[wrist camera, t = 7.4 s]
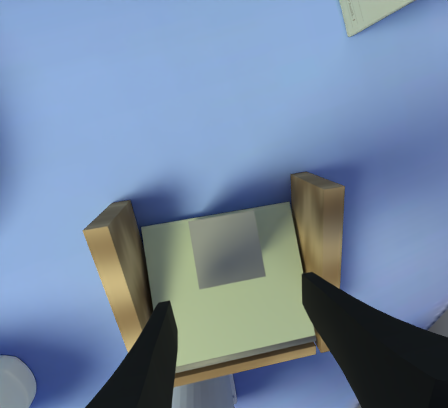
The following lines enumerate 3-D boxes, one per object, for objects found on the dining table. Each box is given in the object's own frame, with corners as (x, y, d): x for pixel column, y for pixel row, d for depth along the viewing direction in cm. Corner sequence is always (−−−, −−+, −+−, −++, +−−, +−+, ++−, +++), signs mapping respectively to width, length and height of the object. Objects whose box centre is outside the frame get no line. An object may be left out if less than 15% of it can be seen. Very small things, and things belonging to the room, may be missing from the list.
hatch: (312, 338, 21) (316, 343, 20) (165, 371, 19) (163, 378, 18) (286, 202, 21) (289, 201, 20) (143, 226, 20) (140, 227, 19)
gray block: (251, 262, 20) (265, 276, 15) (201, 272, 19) (199, 289, 14) (242, 213, 20) (253, 210, 15) (192, 221, 20) (188, 221, 15)
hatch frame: (307, 304, 26) (336, 349, 20) (153, 337, 24) (143, 394, 19) (306, 171, 21) (344, 186, 15) (112, 202, 19) (82, 230, 14)
